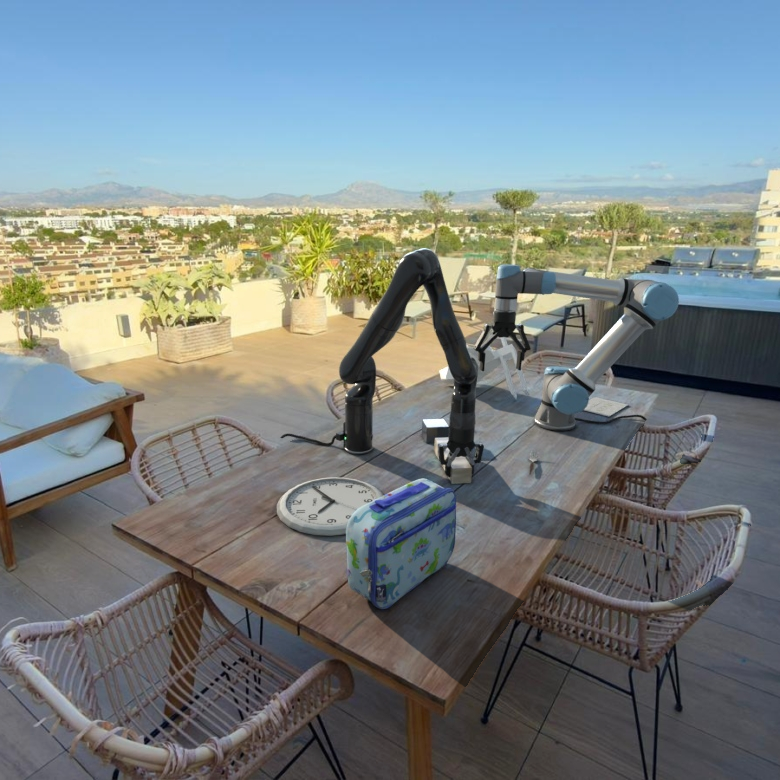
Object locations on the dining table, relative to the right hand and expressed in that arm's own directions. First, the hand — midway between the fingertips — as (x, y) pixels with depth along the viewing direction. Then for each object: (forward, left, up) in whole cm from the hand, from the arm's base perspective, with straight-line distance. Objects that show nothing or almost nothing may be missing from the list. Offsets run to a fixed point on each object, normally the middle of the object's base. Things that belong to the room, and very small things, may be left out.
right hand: (500, 369), depth 187 cm
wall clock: (+48, +60, -25) cm, 81 cm away
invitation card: (-48, -39, -25) cm, 67 cm away
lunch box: (+26, +89, -25) cm, 96 cm away
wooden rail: (+16, +30, -25) cm, 42 cm away
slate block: (+22, +8, -25) cm, 34 cm away
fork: (-10, +26, -25) cm, 37 cm away
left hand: (+14, +39, -24) cm, 48 cm away
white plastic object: (+4, -51, -25) cm, 57 cm away
